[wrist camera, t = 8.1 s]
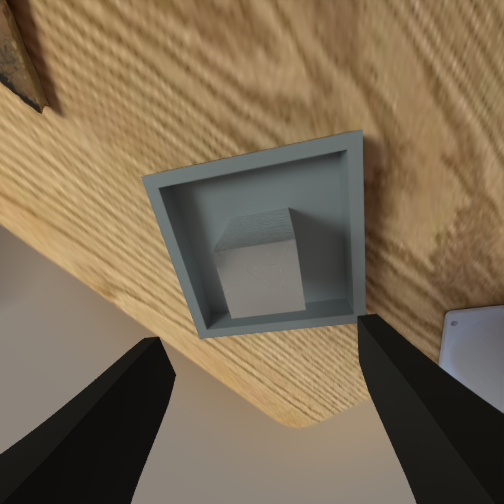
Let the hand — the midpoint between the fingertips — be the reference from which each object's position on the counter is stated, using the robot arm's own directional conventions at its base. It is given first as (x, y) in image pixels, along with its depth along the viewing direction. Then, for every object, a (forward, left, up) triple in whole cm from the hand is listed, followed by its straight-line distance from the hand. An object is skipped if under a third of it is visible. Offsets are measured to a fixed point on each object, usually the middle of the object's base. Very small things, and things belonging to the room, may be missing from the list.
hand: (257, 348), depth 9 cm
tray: (0, 0, -10) cm, 10 cm away
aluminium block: (0, 0, -10) cm, 10 cm away
